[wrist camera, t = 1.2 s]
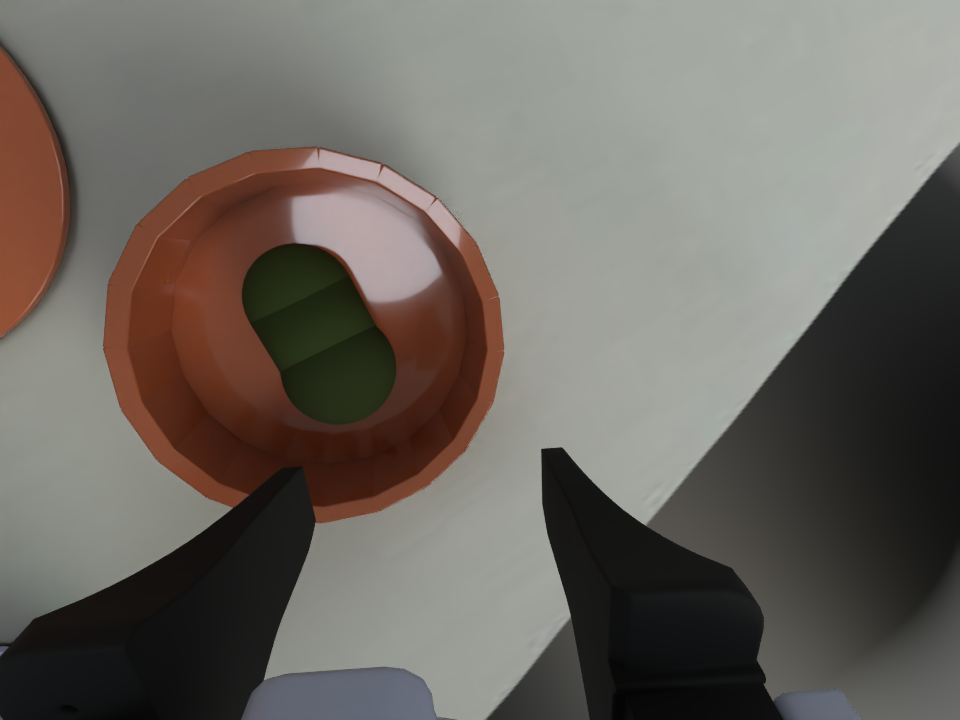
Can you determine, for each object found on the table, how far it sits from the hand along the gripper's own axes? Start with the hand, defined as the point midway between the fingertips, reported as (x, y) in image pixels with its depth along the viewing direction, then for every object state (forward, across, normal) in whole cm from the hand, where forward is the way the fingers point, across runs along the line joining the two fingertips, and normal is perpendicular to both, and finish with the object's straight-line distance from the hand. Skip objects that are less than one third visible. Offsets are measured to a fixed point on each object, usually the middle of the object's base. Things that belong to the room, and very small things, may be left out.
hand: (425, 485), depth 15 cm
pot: (+11, +5, -1) cm, 13 cm away
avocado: (+11, +5, -1) cm, 12 cm away
